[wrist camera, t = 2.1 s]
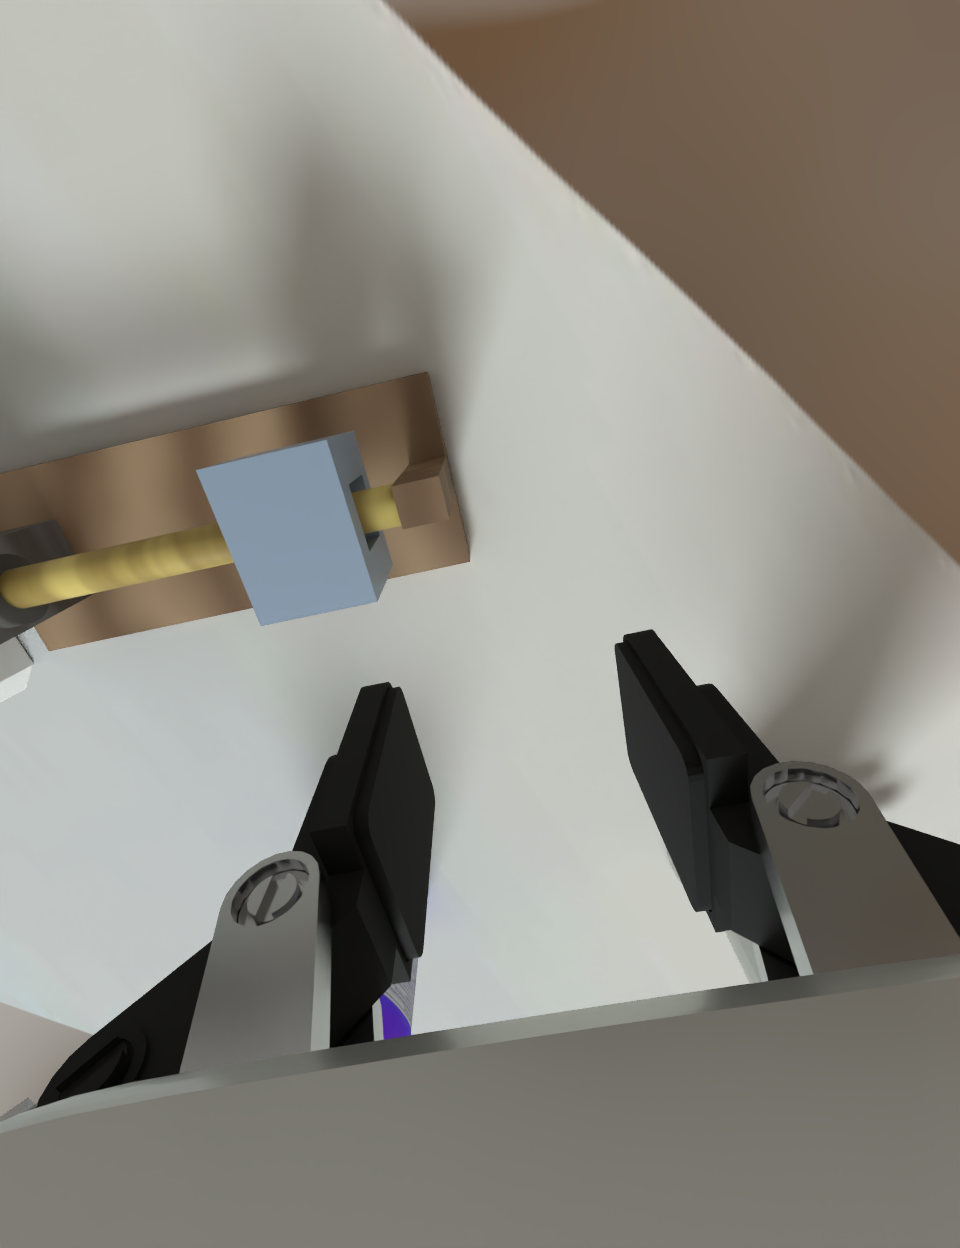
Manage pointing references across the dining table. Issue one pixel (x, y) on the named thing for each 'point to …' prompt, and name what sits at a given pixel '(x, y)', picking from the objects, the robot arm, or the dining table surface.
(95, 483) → the rod stand
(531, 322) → the dining table surface
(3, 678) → the pepper shaker
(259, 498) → the sleeve
